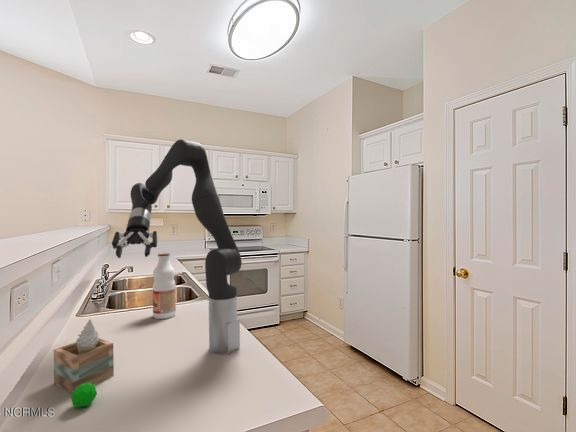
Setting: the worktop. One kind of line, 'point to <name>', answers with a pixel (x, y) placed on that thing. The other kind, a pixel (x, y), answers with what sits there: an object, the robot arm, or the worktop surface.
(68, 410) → the worktop surface
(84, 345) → the ice cream cone
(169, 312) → the fruit juice
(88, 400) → the polyhedron
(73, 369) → the square wooden crate
